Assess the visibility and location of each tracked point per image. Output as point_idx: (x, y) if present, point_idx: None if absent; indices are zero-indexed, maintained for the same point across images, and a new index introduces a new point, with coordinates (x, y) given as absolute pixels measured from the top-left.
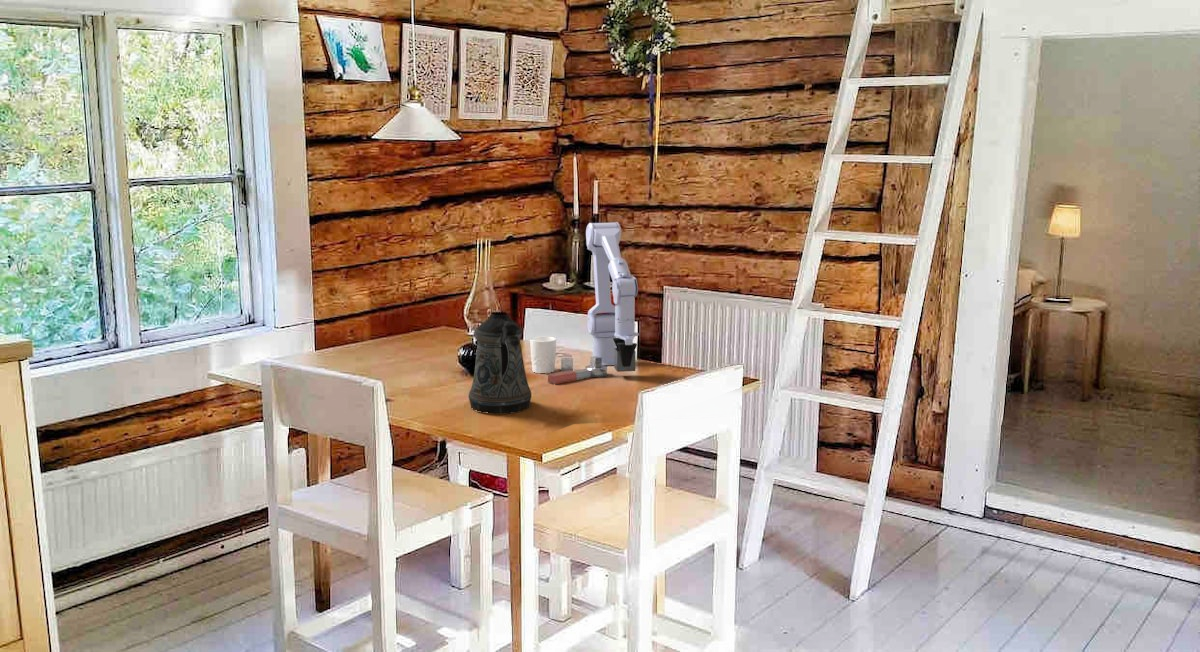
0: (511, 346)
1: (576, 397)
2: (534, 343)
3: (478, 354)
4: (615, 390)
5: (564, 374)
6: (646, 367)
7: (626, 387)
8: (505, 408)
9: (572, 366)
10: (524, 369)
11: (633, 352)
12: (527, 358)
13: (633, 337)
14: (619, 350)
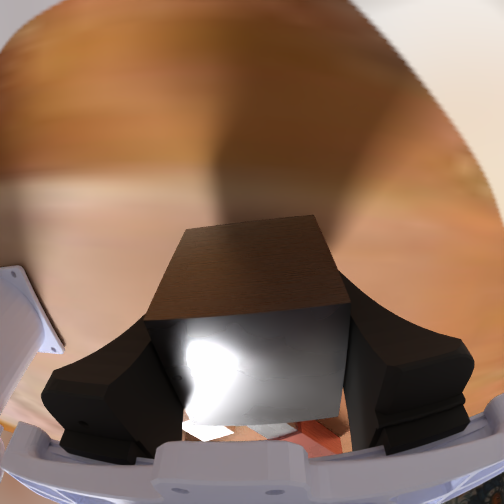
0: None
1: (483, 378)
2: None
3: None
4: (477, 295)
5: (327, 448)
6: (28, 134)
7: (457, 255)
8: None
9: None
10: (501, 481)
11: (402, 318)
12: (56, 439)
13: (440, 458)
14: (296, 409)
